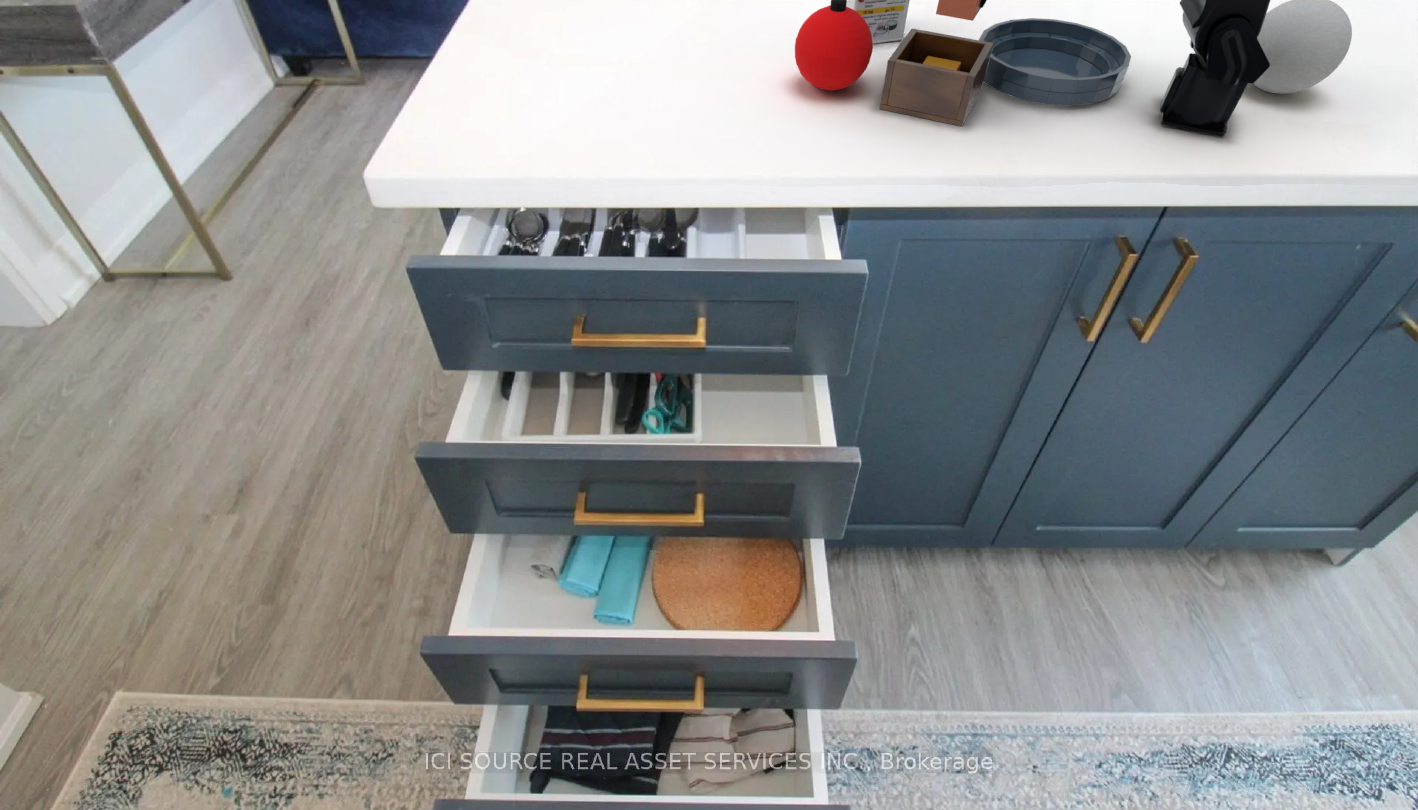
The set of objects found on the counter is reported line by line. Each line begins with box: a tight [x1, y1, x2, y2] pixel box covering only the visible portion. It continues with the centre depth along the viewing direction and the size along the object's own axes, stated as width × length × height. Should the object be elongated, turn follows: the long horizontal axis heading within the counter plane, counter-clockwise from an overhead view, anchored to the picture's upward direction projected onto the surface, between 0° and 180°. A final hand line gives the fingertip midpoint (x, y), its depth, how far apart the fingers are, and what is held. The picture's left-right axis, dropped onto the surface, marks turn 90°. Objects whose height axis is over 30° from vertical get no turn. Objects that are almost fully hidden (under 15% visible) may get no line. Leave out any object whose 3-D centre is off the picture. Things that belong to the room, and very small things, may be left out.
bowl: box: [978, 17, 1132, 107], centre depth 91 cm, size 17×17×4 cm
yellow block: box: [923, 56, 961, 71], centre depth 87 cm, size 4×6×3 cm, turn 154°
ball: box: [1252, 0, 1353, 95], centre depth 86 cm, size 10×10×10 cm
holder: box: [879, 28, 993, 127], centre depth 86 cm, size 10×10×6 cm
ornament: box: [794, 0, 874, 92], centre depth 87 cm, size 9×9×10 cm
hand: (962, 3), depth 82 cm, fingers closed on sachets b, 4 cm apart
